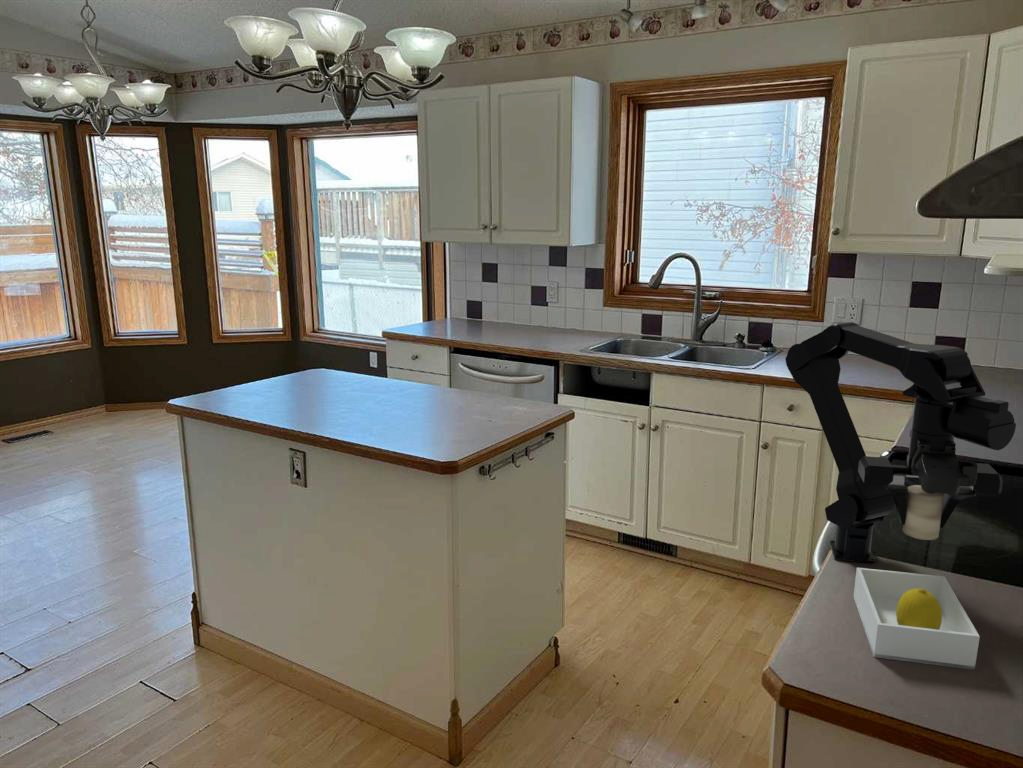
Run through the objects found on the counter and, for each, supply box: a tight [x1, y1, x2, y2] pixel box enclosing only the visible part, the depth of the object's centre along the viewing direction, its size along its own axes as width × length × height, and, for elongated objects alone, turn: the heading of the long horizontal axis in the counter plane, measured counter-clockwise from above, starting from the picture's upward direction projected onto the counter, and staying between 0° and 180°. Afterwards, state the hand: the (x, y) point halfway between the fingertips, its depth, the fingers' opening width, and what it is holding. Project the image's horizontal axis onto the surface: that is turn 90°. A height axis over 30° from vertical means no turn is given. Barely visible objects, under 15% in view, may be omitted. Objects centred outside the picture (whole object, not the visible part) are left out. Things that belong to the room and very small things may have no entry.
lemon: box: [896, 588, 942, 630], centre depth 103 cm, size 6×6×8 cm
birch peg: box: [901, 484, 944, 541], centre depth 116 cm, size 5×5×7 cm
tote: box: [853, 567, 980, 671], centre depth 107 cm, size 16×12×5 cm
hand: (921, 525), depth 116 cm, fingers closed on birch peg, 5 cm apart
